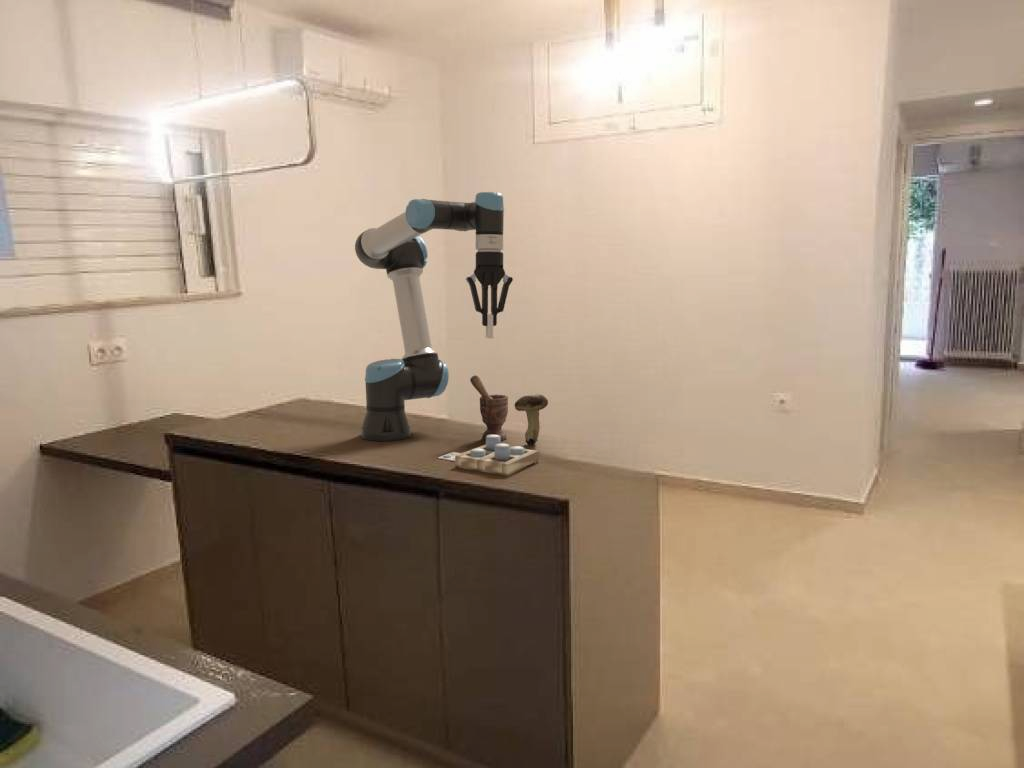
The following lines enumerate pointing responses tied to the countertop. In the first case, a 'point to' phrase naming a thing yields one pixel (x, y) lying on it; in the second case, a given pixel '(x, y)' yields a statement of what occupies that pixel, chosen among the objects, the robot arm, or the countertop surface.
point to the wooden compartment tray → (496, 462)
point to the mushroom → (532, 414)
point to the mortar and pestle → (491, 409)
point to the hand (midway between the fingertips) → (489, 337)
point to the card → (449, 456)
